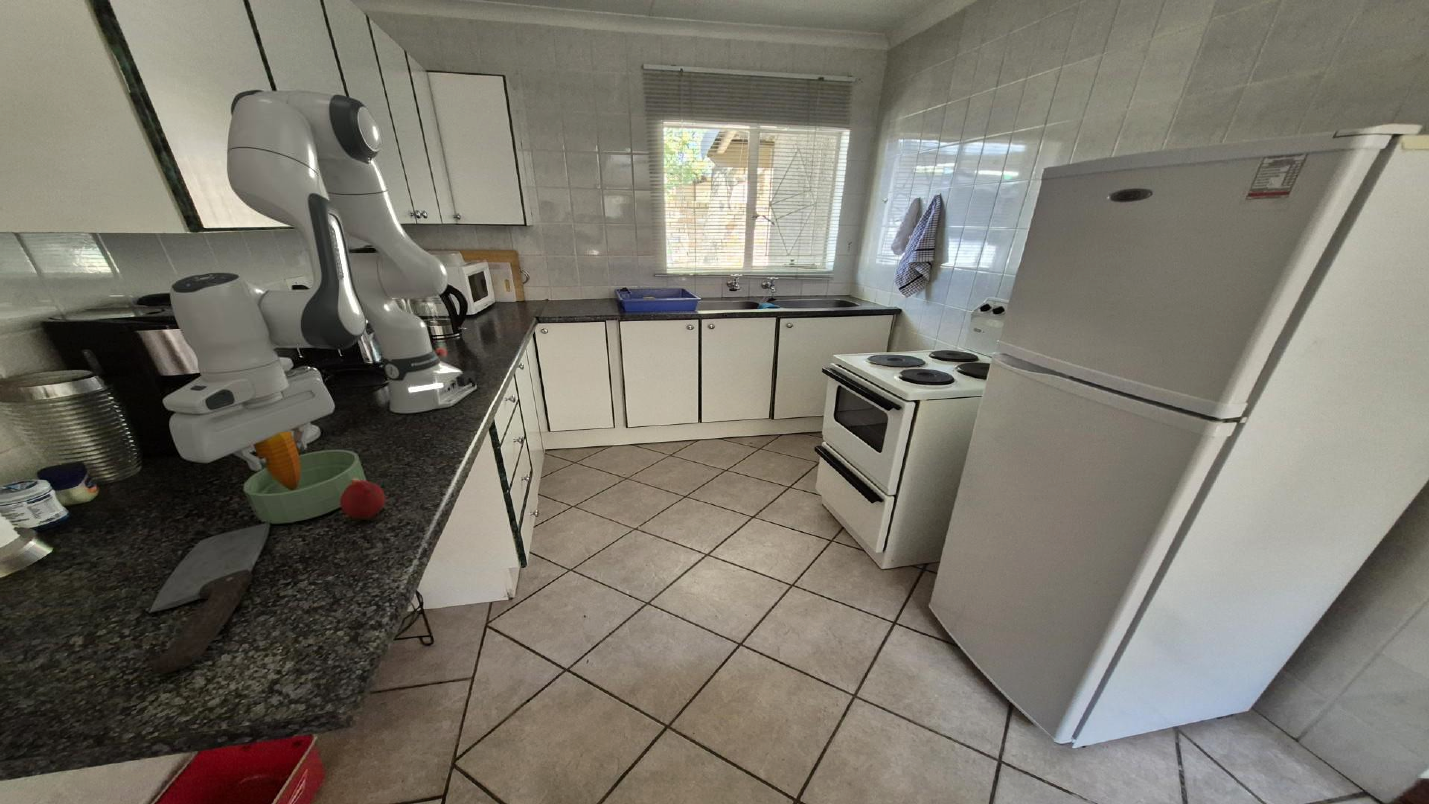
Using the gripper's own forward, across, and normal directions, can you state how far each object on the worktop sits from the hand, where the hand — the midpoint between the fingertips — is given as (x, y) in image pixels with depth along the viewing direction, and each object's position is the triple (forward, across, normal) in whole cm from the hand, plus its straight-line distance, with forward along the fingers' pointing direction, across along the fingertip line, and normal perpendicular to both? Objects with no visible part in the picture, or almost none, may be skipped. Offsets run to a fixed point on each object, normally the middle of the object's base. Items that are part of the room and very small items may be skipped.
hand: (280, 459), depth 75 cm
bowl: (+9, -2, +1) cm, 9 cm away
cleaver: (+10, +18, +9) cm, 22 cm away
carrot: (+6, 0, 0) cm, 6 cm away
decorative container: (+9, -19, -28) cm, 35 cm away
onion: (+9, +1, +16) cm, 18 cm away
